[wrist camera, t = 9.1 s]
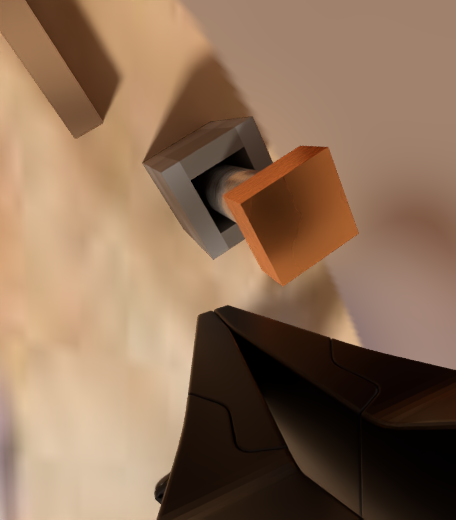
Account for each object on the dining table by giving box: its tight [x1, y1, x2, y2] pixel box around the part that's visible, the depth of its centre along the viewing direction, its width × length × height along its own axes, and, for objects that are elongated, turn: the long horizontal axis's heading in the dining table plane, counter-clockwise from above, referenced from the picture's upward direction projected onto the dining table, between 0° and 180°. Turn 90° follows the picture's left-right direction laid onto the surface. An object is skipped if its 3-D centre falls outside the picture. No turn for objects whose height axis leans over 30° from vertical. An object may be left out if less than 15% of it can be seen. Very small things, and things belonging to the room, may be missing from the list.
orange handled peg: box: [197, 146, 358, 286], centre depth 14 cm, size 3×3×8 cm
